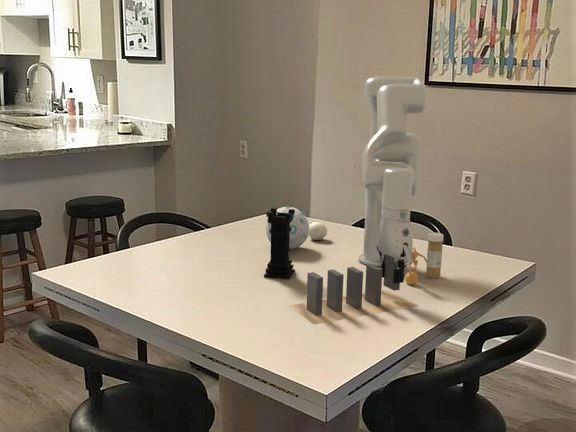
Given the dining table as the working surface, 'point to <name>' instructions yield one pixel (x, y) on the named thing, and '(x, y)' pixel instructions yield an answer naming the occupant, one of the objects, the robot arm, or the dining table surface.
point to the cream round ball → (317, 230)
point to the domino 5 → (390, 273)
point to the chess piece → (280, 245)
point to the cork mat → (387, 304)
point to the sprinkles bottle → (434, 255)
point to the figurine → (412, 277)
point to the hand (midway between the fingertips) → (392, 279)
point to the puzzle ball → (294, 228)
